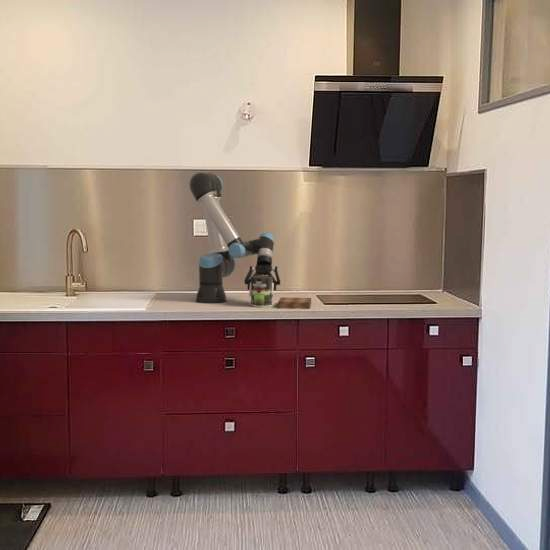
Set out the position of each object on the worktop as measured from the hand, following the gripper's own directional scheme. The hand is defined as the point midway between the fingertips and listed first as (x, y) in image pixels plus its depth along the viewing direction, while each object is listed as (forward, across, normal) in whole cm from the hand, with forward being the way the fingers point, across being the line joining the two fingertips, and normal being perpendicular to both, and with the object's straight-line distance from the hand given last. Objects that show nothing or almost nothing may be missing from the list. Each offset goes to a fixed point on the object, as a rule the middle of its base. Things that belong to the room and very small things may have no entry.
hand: (261, 295), depth 344 cm
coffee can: (+2, 0, -6) cm, 6 cm away
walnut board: (+2, -16, -6) cm, 17 cm away
